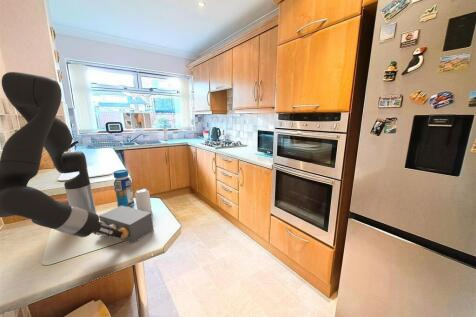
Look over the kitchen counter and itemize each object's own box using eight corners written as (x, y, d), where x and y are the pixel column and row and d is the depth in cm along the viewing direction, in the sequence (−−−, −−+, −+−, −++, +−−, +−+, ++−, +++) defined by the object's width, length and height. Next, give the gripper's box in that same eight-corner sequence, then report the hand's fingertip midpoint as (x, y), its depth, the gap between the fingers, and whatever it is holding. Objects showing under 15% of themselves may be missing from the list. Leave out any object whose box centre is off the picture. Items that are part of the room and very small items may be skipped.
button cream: (108, 233, 78) (106, 224, 77) (119, 227, 82) (118, 218, 81) (114, 235, 76) (113, 226, 75) (126, 229, 81) (124, 220, 80)
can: (146, 215, 96) (143, 193, 94) (135, 214, 98) (131, 192, 95) (154, 209, 102) (151, 188, 100) (143, 208, 104) (140, 187, 101)
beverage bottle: (115, 205, 108) (109, 171, 104) (131, 200, 115) (126, 168, 110) (120, 210, 103) (114, 174, 99) (137, 204, 109) (131, 170, 105)
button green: (98, 230, 81) (96, 221, 80) (110, 224, 85) (108, 215, 84) (104, 232, 79) (102, 223, 78) (116, 226, 83) (114, 217, 82)
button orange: (119, 237, 75) (117, 228, 74) (130, 230, 80) (128, 221, 79) (125, 239, 74) (124, 230, 73) (137, 232, 78) (135, 223, 77)
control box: (102, 232, 83) (99, 215, 81) (124, 221, 92) (121, 205, 90) (132, 243, 75) (129, 224, 74) (153, 229, 84) (151, 212, 82)
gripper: (97, 213, 59) (137, 228, 73) (72, 206, 65) (114, 221, 78) (80, 238, 56) (126, 249, 69) (56, 229, 61) (103, 241, 75)
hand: (120, 234), depth 74 cm, fingers closed
